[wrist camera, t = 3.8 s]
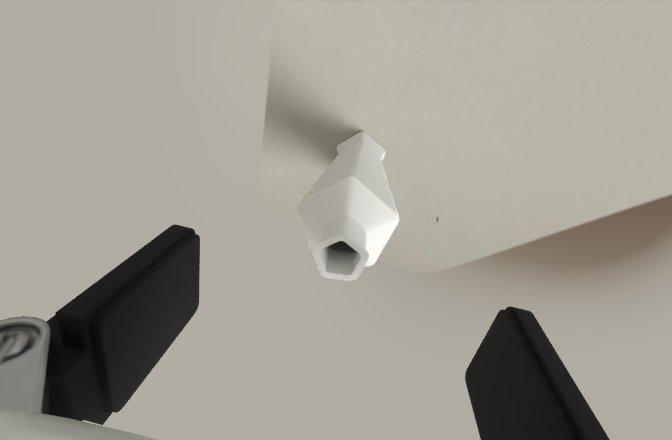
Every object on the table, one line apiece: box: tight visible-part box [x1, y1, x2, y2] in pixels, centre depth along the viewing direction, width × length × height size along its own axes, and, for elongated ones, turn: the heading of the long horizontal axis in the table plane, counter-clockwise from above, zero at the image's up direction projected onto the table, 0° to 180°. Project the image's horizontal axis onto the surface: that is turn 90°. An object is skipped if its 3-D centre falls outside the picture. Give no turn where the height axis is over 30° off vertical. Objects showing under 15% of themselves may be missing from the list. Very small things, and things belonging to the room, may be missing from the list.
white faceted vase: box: [298, 131, 399, 281], centre depth 19 cm, size 5×4×15 cm
